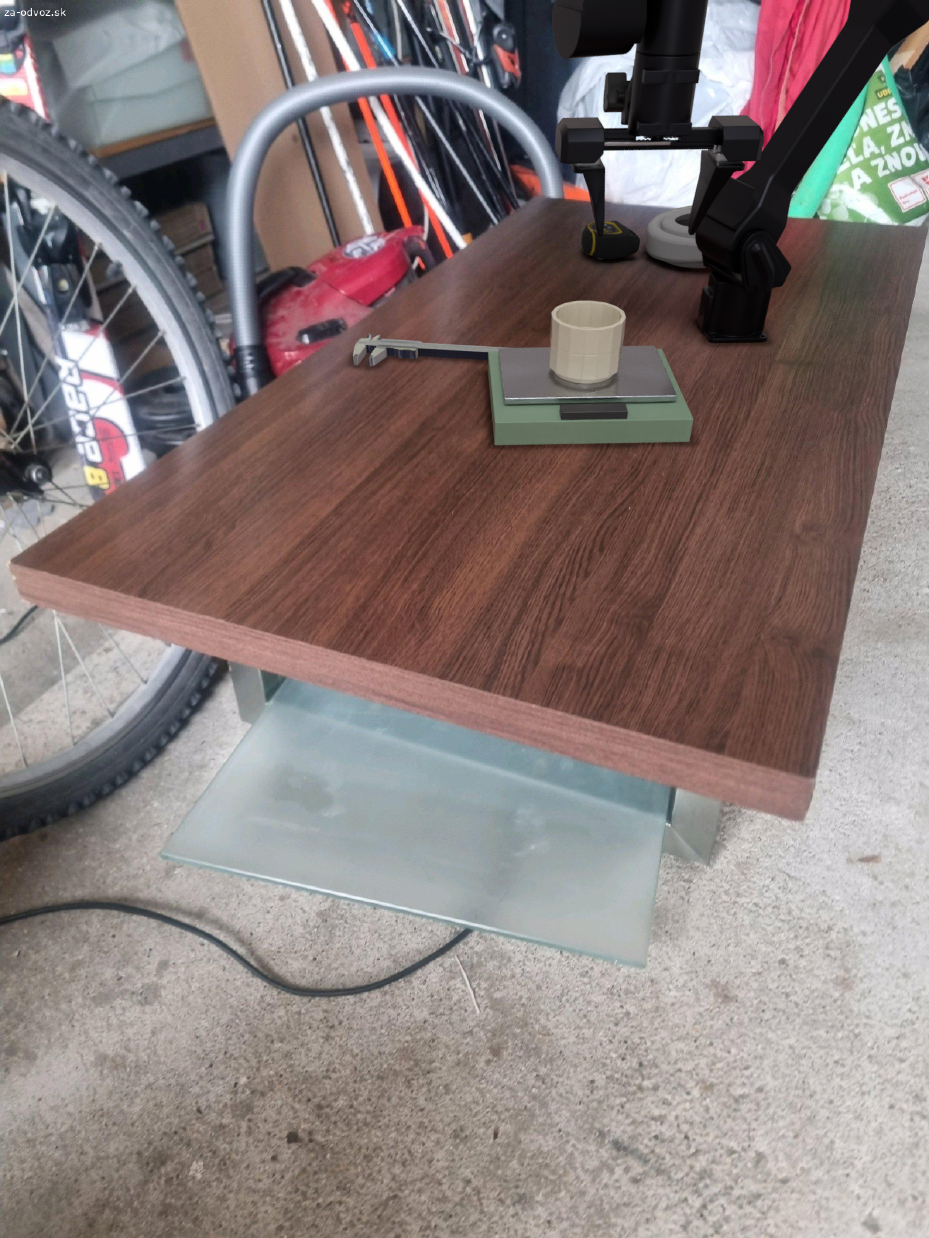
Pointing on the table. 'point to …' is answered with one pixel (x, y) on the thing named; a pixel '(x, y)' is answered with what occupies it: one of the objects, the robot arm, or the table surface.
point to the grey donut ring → (673, 239)
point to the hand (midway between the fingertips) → (645, 234)
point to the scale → (587, 418)
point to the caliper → (415, 350)
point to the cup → (586, 341)
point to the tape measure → (610, 241)
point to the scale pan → (539, 384)
